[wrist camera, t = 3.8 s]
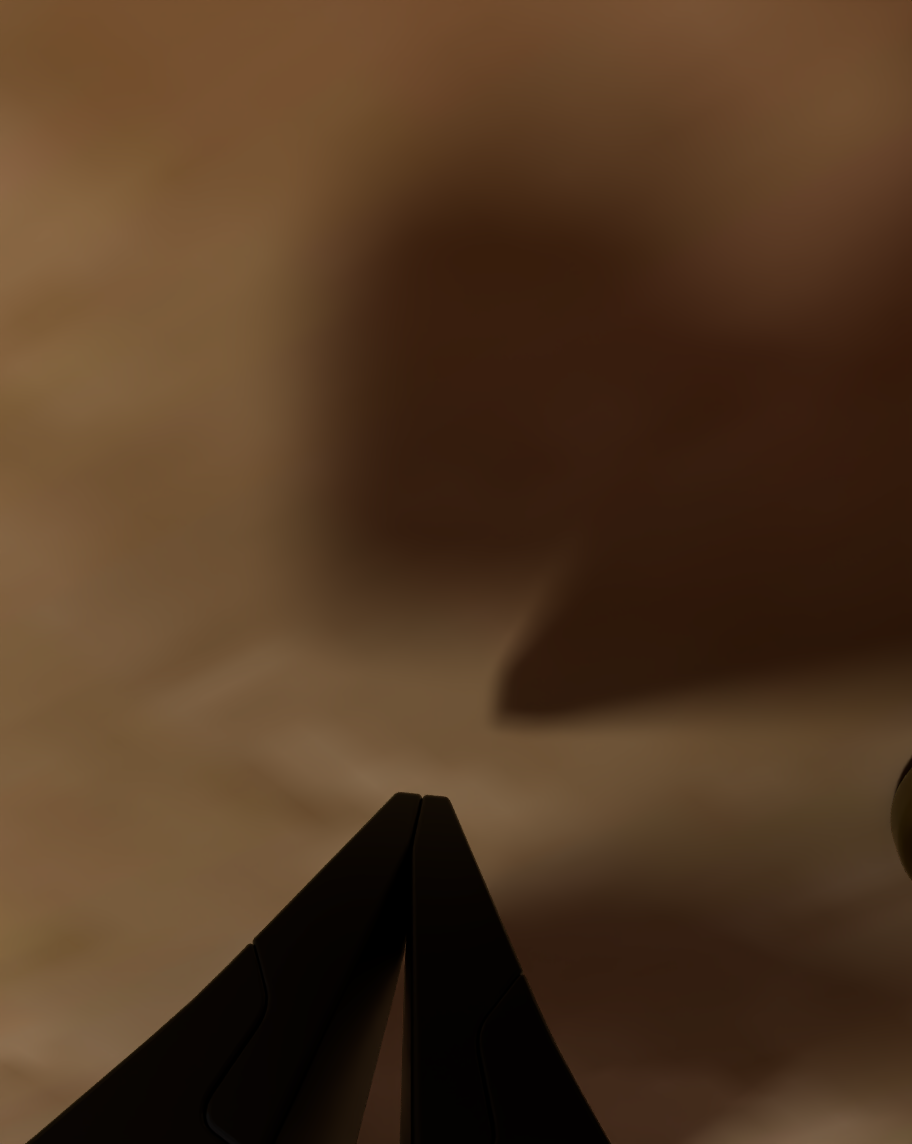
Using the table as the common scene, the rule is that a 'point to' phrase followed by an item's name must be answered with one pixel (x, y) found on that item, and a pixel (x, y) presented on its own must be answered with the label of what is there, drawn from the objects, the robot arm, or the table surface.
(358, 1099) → the robot arm
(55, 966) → the table surface
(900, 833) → the cup
